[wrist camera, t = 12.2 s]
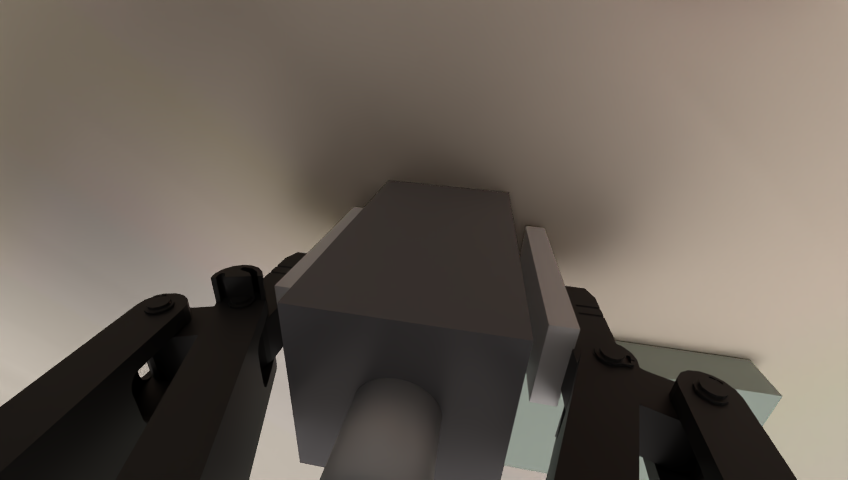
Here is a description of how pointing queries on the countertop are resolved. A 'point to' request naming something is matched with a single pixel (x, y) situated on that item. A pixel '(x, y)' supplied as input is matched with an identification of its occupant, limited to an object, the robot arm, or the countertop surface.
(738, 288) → the countertop surface
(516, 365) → the plug
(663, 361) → the socket plate
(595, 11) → the countertop surface
